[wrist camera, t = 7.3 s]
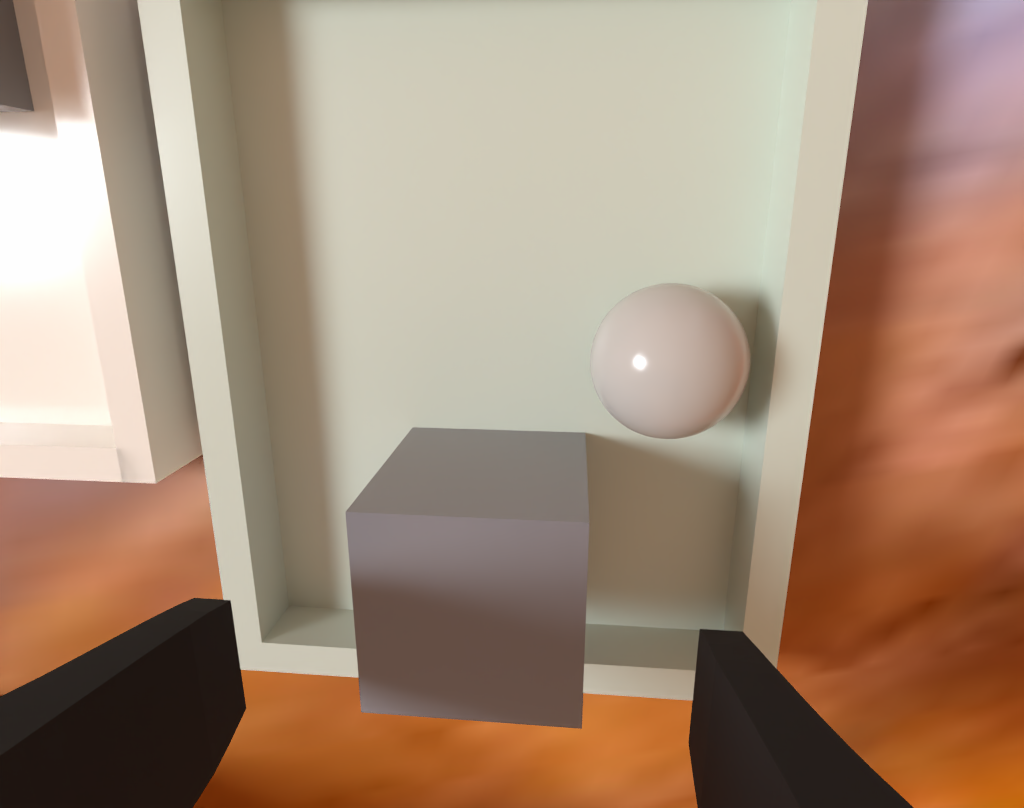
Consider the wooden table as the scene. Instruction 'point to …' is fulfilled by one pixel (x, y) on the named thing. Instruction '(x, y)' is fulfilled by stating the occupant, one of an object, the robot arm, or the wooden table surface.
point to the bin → (499, 280)
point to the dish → (88, 261)
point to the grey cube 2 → (473, 577)
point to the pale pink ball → (670, 361)
